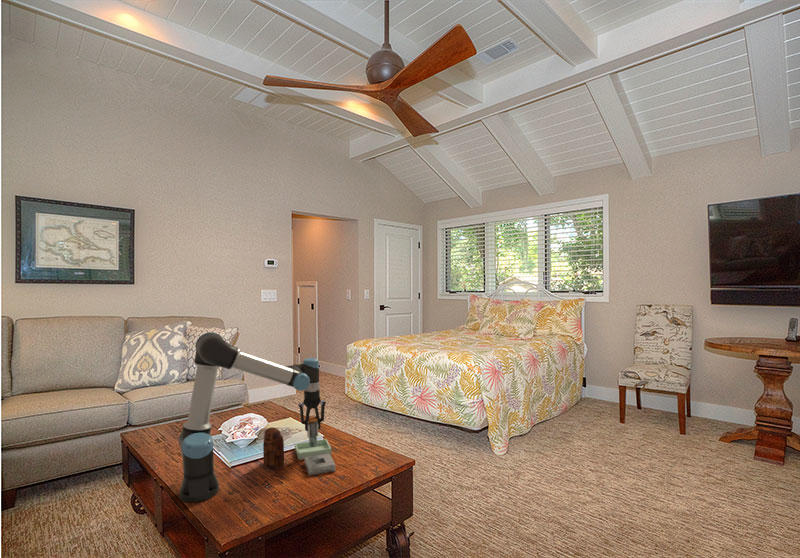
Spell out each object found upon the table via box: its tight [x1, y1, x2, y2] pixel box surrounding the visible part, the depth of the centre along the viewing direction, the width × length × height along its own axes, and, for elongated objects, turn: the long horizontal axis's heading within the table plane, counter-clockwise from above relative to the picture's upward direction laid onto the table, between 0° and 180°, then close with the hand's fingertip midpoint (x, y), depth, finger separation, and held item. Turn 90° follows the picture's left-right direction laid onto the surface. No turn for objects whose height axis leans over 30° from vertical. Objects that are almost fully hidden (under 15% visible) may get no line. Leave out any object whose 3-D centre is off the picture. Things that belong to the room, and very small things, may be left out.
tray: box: [294, 438, 333, 461], centre depth 233 cm, size 16×12×3 cm
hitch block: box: [303, 453, 336, 476], centre depth 217 cm, size 12×12×3 cm
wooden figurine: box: [262, 426, 285, 471], centre depth 217 cm, size 12×6×18 cm, turn 65°
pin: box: [308, 415, 318, 447], centre depth 232 cm, size 5×5×14 cm
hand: (312, 435), depth 232 cm, fingers closed on pin, 4 cm apart
